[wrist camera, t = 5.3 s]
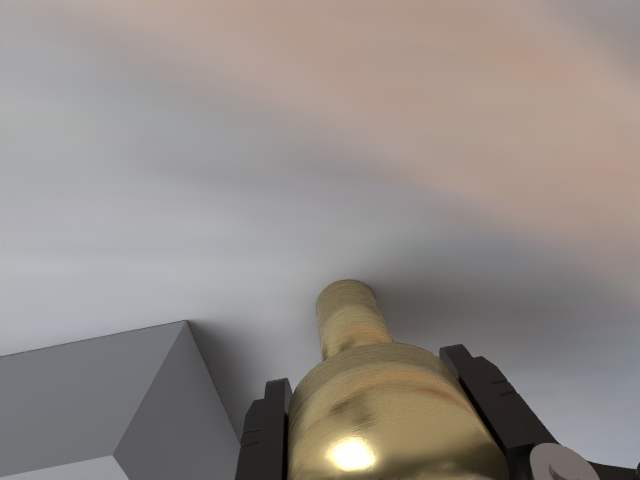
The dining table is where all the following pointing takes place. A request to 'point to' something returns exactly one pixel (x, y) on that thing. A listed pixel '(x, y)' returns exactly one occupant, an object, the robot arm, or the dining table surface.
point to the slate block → (115, 411)
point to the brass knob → (382, 405)
